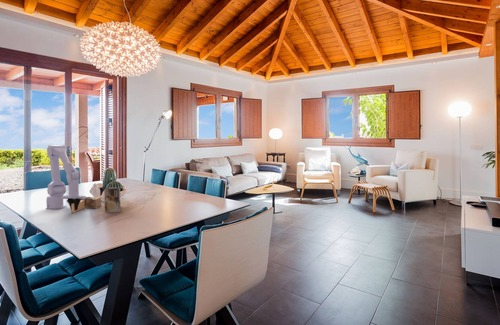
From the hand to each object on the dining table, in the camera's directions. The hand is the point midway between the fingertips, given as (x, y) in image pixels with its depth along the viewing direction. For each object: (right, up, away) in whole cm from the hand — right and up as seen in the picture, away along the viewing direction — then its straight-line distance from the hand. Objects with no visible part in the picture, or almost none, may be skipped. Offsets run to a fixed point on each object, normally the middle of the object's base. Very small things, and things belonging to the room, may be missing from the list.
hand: (74, 209), depth 190 cm
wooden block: (0, 0, +16) cm, 16 cm away
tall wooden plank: (0, -1, +4) cm, 4 cm away
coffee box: (+24, -2, +4) cm, 24 cm away
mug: (+20, -1, +15) cm, 25 cm away
